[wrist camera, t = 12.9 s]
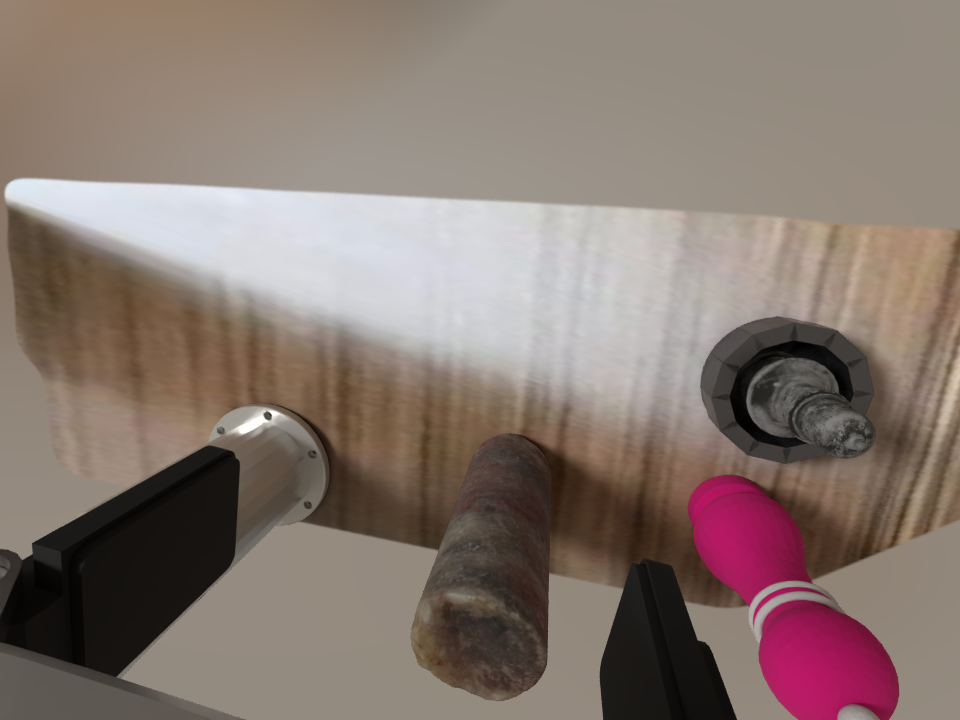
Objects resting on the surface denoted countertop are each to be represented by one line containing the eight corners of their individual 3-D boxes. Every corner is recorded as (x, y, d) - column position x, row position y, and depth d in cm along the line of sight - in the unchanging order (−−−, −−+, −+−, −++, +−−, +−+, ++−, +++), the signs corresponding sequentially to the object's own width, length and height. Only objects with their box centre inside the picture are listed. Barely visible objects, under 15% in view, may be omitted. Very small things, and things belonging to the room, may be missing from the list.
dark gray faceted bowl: (718, 455, 39) (732, 475, 36) (686, 340, 38) (697, 350, 34) (855, 423, 37) (884, 441, 34) (827, 299, 35) (855, 305, 32)
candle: (572, 476, 42) (577, 670, 23) (513, 524, 44) (473, 738, 25) (510, 416, 42) (464, 561, 22) (455, 467, 44) (369, 640, 25)
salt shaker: (823, 406, 36) (941, 480, 25) (743, 429, 38) (820, 510, 26) (801, 335, 36) (913, 379, 24) (720, 363, 37) (789, 416, 26)
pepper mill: (691, 462, 40) (807, 663, 21) (783, 476, 39) (995, 702, 20) (673, 537, 42) (766, 785, 23) (761, 553, 41) (936, 827, 21)
